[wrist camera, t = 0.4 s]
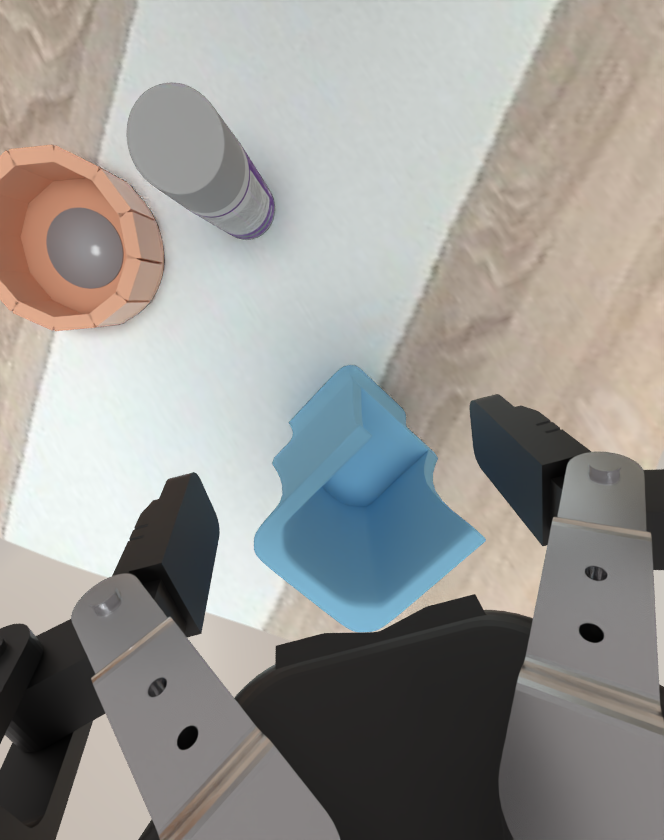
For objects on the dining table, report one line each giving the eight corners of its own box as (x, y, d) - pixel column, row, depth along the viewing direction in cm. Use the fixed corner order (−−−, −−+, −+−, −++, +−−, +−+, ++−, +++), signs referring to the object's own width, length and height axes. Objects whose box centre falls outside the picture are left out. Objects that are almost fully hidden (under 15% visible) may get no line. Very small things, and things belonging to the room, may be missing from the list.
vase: (413, 418, 38) (489, 540, 19) (352, 478, 40) (364, 645, 21) (348, 358, 37) (360, 423, 18) (288, 422, 38) (238, 546, 19)
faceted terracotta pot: (-4, 174, 33) (-56, 155, 29) (147, 159, 33) (118, 137, 28) (38, 331, 37) (-4, 336, 32) (176, 319, 36) (153, 322, 32)
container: (208, 181, 33) (109, 91, 19) (267, 168, 33) (212, 67, 18) (224, 245, 34) (141, 207, 20) (280, 233, 34) (238, 186, 20)
